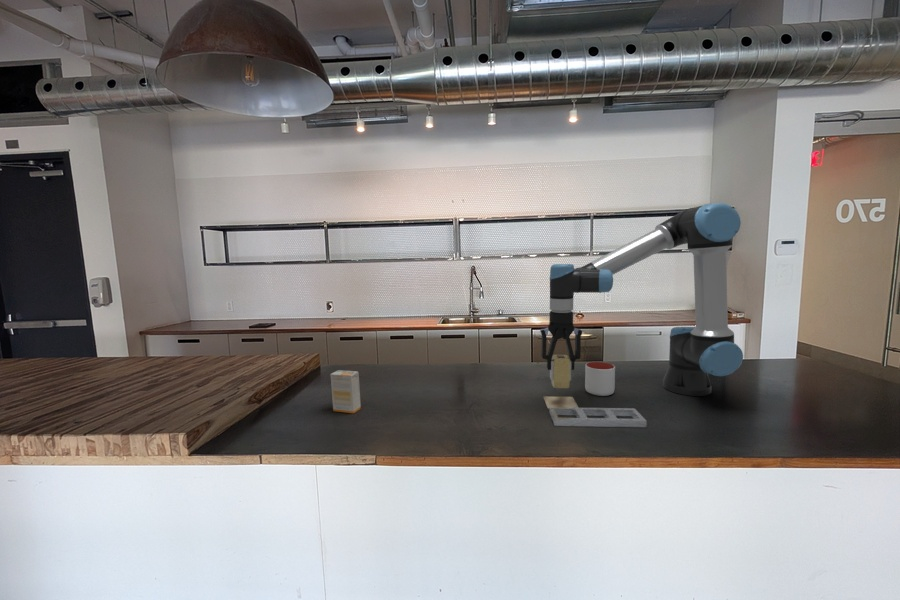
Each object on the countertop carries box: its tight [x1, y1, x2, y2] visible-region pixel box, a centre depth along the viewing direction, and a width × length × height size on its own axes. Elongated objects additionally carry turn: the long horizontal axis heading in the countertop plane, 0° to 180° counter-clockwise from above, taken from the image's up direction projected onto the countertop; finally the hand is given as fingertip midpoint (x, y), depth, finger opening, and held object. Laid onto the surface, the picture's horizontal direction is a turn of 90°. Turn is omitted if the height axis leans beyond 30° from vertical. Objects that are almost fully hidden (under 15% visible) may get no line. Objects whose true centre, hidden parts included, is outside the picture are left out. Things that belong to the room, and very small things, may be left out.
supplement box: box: [330, 369, 362, 414], centre depth 127 cm, size 8×5×13 cm, turn 71°
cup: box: [584, 361, 616, 397], centre depth 138 cm, size 10×10×10 cm
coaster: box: [542, 396, 580, 410], centre depth 129 cm, size 10×10×1 cm
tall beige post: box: [550, 354, 571, 389], centre depth 128 cm, size 5×5×10 cm
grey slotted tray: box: [549, 407, 648, 428], centre depth 115 cm, size 26×9×2 cm, turn 85°
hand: (560, 378), depth 128 cm, fingers closed on tall beige post, 5 cm apart
